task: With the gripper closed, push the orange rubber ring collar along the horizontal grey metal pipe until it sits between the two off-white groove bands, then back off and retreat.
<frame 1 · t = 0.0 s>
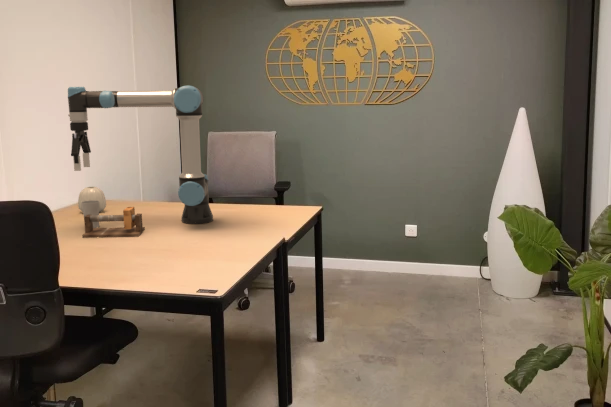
hand: (82, 168, 275), 28 cm above the table, fingers open, 13 cm apart
vase: (93, 212, 321), on the table
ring: (129, 217, 270), point 7 cm above the table, slide at 0.0 cm
pipe stand: (114, 233, 271), on the table
cup: (92, 227, 285), on the table
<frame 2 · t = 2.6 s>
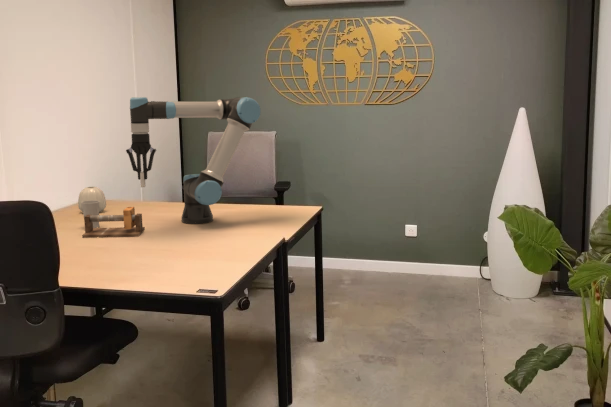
hand: (143, 186, 268), 21 cm above the table, fingers closed
nothing on the table moved.
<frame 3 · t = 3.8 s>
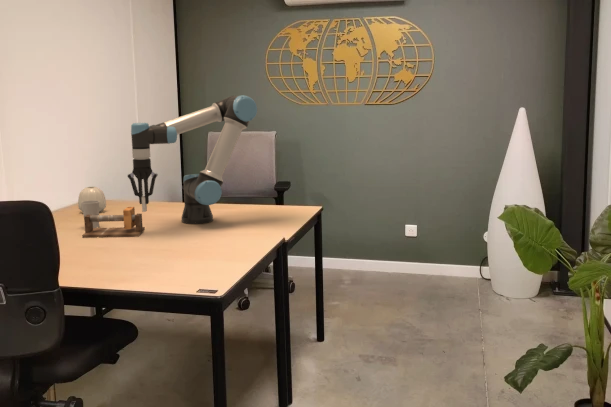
hand: (144, 211, 270), 10 cm above the table, fingers closed
nothing on the table moved.
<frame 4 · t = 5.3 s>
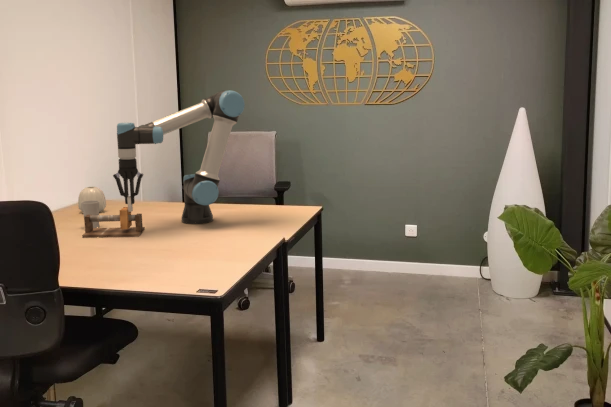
hand: (130, 211, 269), 10 cm above the table, fingers closed
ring: (125, 217, 270), point 7 cm above the table, slide at 1.6 cm, touching gripper
everything else where it was.
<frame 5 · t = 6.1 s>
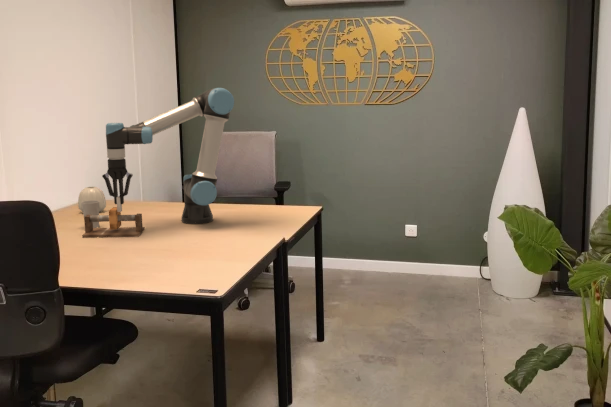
hand: (119, 211, 269), 10 cm above the table, fingers closed
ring: (115, 218, 270), point 7 cm above the table, slide at 6.3 cm, touching gripper
everything else where it was.
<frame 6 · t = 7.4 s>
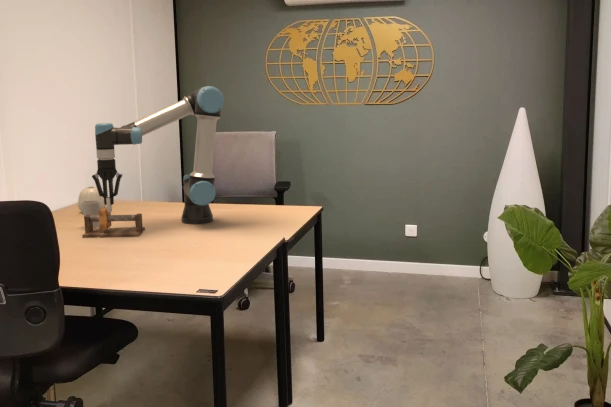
hand: (109, 211, 269), 10 cm above the table, fingers closed
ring: (105, 218, 269), point 7 cm above the table, slide at 10.7 cm, touching gripper
everything else where it was.
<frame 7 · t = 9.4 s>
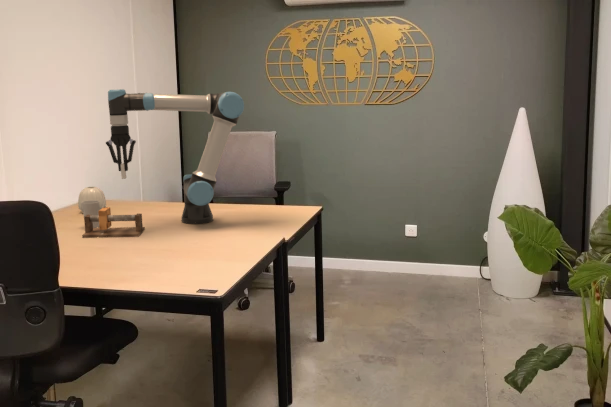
hand: (124, 178, 270), 24 cm above the table, fingers closed
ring: (105, 218, 269), point 7 cm above the table, slide at 10.7 cm
everything else where it was.
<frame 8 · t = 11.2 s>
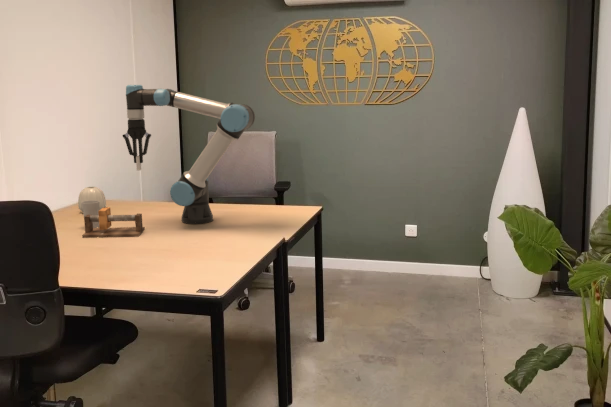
hand: (139, 170, 282), 26 cm above the table, fingers closed
nothing on the table moved.
at the end: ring slide at 10.7 cm; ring touching nothing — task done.
